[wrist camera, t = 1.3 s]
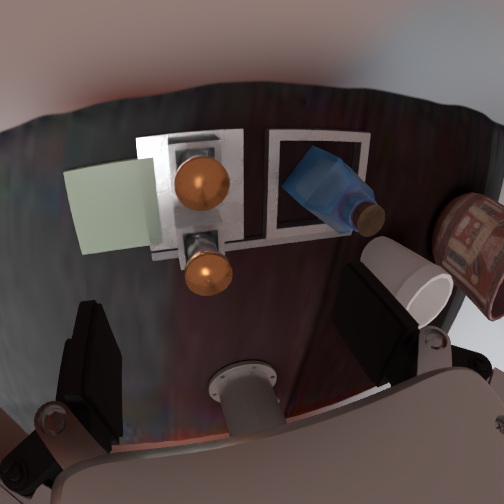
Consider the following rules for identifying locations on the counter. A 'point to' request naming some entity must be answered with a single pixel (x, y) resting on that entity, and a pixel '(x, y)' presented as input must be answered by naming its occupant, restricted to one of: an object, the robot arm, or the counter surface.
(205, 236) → the plunger
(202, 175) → the plunger
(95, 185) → the mat
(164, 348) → the counter surface
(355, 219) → the perfume bottle
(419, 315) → the foam cup
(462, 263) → the pottery
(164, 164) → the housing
